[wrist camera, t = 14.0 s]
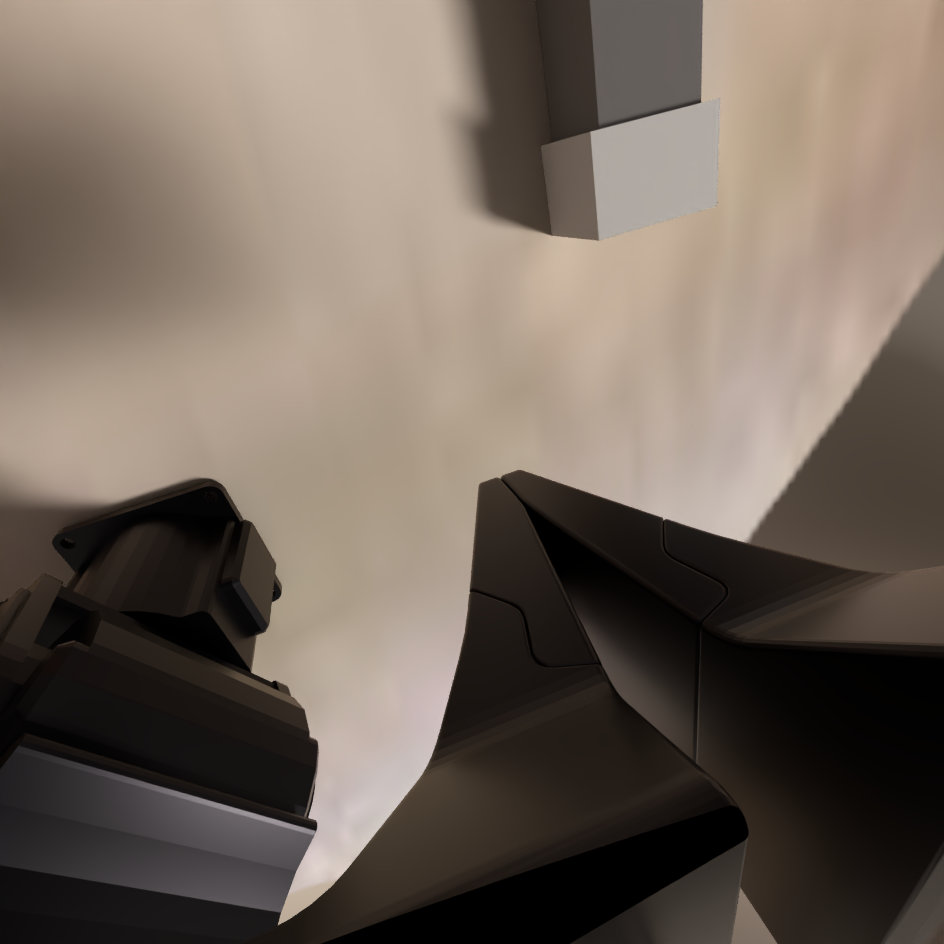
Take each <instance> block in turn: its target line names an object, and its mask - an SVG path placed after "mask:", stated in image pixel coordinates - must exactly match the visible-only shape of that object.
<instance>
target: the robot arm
mask: <svg viewBox="0 0 944 944" xmlns="http://www.w3.org/2000/svg"><path fill="white" fill-rule="evenodd" d="M209 491H212V492H215V493H216V494H217V495H218V496H217V497H209V496H208V495H207V494H206V492H209ZM65 538H70V539H73V540H74V541H75V542H76V543H70V542H68V541H66V540H65ZM52 544H53V546H54V548H55V549H56V550H57V551H58V553H59V554H60V555H61V556H62V557H63V558H64V559H65V561H66V562H67V563H68V564H69V565H70V566H71V568H72V569H73V570H74V571H75V572H76V573H75V574H74V576H73V577H72V579H71V580H70V582H69V583H68V585H67V586H66V587H63V586H62V584H63V582H62V581H60V580H58V579H55V578H53V577H51V576H49V575H47V574H45V573H44V574H42V575H41V576H40V577H39V578H38V579H37V580H36V581H35V582H34V583H33V584H32V585H31V586H30V587H29V588H28V589H27V590H25V589H23V588H21V589H20V590H19V591H17V592H16V593H15V594H14V595H13V596H12V597H11V598H10V599H6V600H5V601H4V602H0V944H731V942H732V935H733V928H734V923H735V916H736V910H737V904H738V898H739V891H740V887H741V889H742V891H743V892H744V894H745V895H746V897H747V898H748V900H749V901H750V903H751V904H752V905H753V907H754V909H755V910H756V912H757V913H758V915H759V916H760V918H761V919H762V921H763V922H764V924H765V925H766V927H767V928H768V930H769V932H770V933H771V935H772V936H773V937H774V939H775V941H776V942H777V944H944V566H940V567H934V568H927V569H921V570H915V571H906V572H870V571H862V570H855V569H849V568H845V567H840V566H836V565H832V564H828V563H824V562H820V561H816V560H812V559H807V558H804V557H800V556H796V555H792V554H788V553H784V552H780V551H776V550H772V549H768V548H764V547H760V546H756V545H752V544H748V543H745V542H741V541H737V540H733V539H730V538H726V537H722V536H719V535H715V534H712V533H709V532H705V531H702V530H699V529H696V528H693V527H689V526H686V525H683V524H680V523H677V522H674V521H671V520H668V519H665V520H663V518H662V517H659V516H656V515H653V514H650V513H647V512H644V511H641V510H638V509H635V508H632V507H629V506H626V505H623V504H620V503H617V502H614V501H611V500H609V499H606V498H603V497H600V496H597V495H594V494H591V493H588V492H585V491H582V490H579V489H576V488H573V487H570V486H567V485H564V484H561V483H558V482H555V481H552V480H549V479H546V478H543V477H540V476H537V475H534V474H531V473H528V472H525V471H522V470H517V471H514V472H511V473H508V474H505V475H503V476H502V477H501V479H500V478H494V479H491V480H488V481H485V482H482V483H480V484H479V489H478V501H477V512H476V524H475V535H474V547H473V559H472V570H471V582H470V594H469V602H468V612H467V619H466V627H465V634H464V638H463V643H462V647H461V652H460V656H459V661H458V664H457V668H456V672H455V676H454V680H453V683H452V687H451V691H450V695H449V699H448V702H447V706H446V710H445V714H444V718H443V721H442V725H441V729H440V733H439V736H438V739H437V743H436V746H435V749H434V751H433V754H432V757H431V759H430V761H429V763H428V765H427V767H426V769H425V771H424V773H423V774H422V776H421V777H420V779H419V780H418V781H417V782H416V784H415V785H414V786H413V787H412V789H411V790H410V791H409V792H408V794H407V795H406V796H405V797H404V799H403V800H402V801H401V803H400V804H399V805H398V806H397V808H396V809H395V810H394V811H393V813H392V814H391V815H390V816H389V818H388V819H387V820H386V821H385V823H384V824H383V825H382V826H381V828H380V829H379V830H378V831H377V833H376V834H375V835H374V836H373V838H372V839H371V840H370V841H369V843H368V844H367V845H366V847H365V848H364V849H363V850H362V852H361V853H360V854H359V855H358V857H357V858H356V859H355V860H354V862H353V863H352V864H351V865H350V867H349V868H348V869H347V870H346V871H345V872H344V874H343V875H342V876H341V877H340V878H339V879H338V880H337V881H336V882H335V883H334V885H333V886H332V887H331V888H330V889H328V890H327V891H326V892H325V893H324V894H323V895H321V896H320V897H319V898H318V899H317V900H316V901H315V902H313V903H312V904H311V905H310V906H308V907H307V908H305V909H304V910H302V911H301V912H299V913H298V914H297V915H295V916H294V917H292V918H291V919H289V920H287V921H286V922H284V923H282V924H280V925H278V922H279V918H280V914H281V911H282V908H283V906H284V903H285V900H286V898H287V895H288V892H289V889H290V887H291V884H292V881H293V879H294V876H295V873H296V871H297V869H298V867H299V865H300V863H301V861H302V859H303V857H304V855H305V853H306V851H307V849H308V847H309V845H310V843H311V841H312V839H313V837H314V835H315V833H316V830H317V822H316V820H313V819H309V818H308V816H309V813H310V809H311V806H312V802H313V796H314V789H315V780H316V775H317V768H318V755H319V749H318V741H317V740H316V739H314V738H311V737H309V728H308V724H307V719H306V715H305V710H304V709H303V708H302V706H301V705H300V704H299V703H298V702H297V701H296V700H295V698H293V697H291V694H290V691H289V689H288V687H287V686H286V685H284V684H282V683H279V682H277V681H273V682H270V681H268V680H266V679H263V678H261V677H259V676H257V675H255V674H253V673H251V671H252V664H253V657H254V650H255V643H256V636H257V635H259V634H262V633H264V632H266V630H267V628H268V626H269V622H270V613H271V604H272V602H273V601H276V600H277V599H279V598H280V596H281V592H282V586H281V583H280V581H279V580H278V578H277V576H276V575H275V569H276V563H275V561H274V559H273V558H272V556H271V554H270V552H269V551H268V549H267V547H266V546H265V544H264V542H263V540H262V539H261V537H260V535H259V533H258V532H257V530H256V528H255V526H254V525H253V523H252V522H250V521H248V520H243V518H242V516H241V515H240V513H239V511H238V509H237V508H236V506H235V504H234V503H233V501H232V499H231V497H230V496H229V494H228V492H227V491H226V489H225V487H224V486H223V485H222V484H220V483H218V482H214V481H210V482H205V483H202V484H199V485H196V486H193V487H190V488H186V489H183V490H180V491H177V492H174V493H171V494H168V495H165V496H162V497H159V498H155V499H152V500H149V501H146V502H143V503H140V504H137V505H134V506H131V507H128V508H125V509H121V510H118V511H115V512H112V513H109V514H106V515H103V516H100V517H97V518H94V519H91V520H87V521H84V522H81V523H78V524H75V525H72V526H69V527H66V528H63V529H61V530H60V531H59V532H58V533H57V534H56V536H55V537H54V538H53V541H52ZM273 590H274V591H273Z"/></svg>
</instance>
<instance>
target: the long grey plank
mask: <svg viewBox="0 0 944 944" xmlns="http://www.w3.org/2000/svg"><path fill="white" fill-rule="evenodd" d="M536 6H537V15H538V24H539V32H540V41H541V50H542V59H543V67H544V76H545V85H546V94H547V102H548V111H549V120H550V129H551V137H552V143H549V144H546V145H542V146H541V152H542V160H543V168H544V176H545V184H546V192H547V200H548V208H549V216H550V224H551V232H552V236H561V237H570V238H580V239H589V240H603V239H606V238H609V237H613V236H616V235H620V234H623V233H627V232H630V231H633V230H637V229H640V228H644V227H647V226H650V225H654V224H657V223H661V222H664V221H668V220H671V219H674V218H678V217H681V216H685V215H688V214H692V213H695V212H698V211H702V210H705V209H709V208H712V207H716V206H717V182H718V153H719V123H720V98H718V99H714V100H710V101H706V102H703V103H701V70H702V12H703V0H536Z"/></svg>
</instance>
